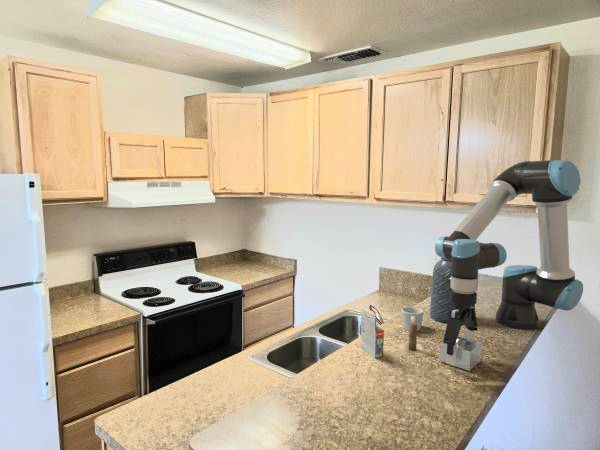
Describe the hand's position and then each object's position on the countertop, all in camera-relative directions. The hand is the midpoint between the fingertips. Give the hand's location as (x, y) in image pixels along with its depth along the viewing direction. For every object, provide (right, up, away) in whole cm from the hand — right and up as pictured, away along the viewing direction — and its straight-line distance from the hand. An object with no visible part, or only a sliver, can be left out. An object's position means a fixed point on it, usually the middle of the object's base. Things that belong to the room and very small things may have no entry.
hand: (459, 356), depth 118 cm
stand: (-12, -2, +9) cm, 15 cm away
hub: (0, -3, 0) cm, 3 cm away
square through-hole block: (0, -1, 0) cm, 1 cm away
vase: (+11, +2, +40) cm, 42 cm away
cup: (-7, 0, +26) cm, 27 cm away
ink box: (-26, -2, +7) cm, 27 cm away
